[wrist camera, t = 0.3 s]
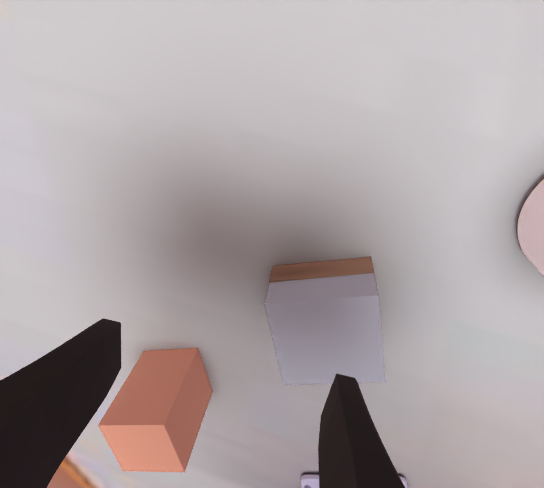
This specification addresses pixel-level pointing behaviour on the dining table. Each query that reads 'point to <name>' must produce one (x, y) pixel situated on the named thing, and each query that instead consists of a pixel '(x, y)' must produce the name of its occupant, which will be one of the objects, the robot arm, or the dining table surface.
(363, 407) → the robot arm
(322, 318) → the tower upper
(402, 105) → the dining table surface
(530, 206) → the can
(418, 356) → the dining table surface
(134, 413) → the brick block
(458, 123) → the dining table surface
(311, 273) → the tower lower
